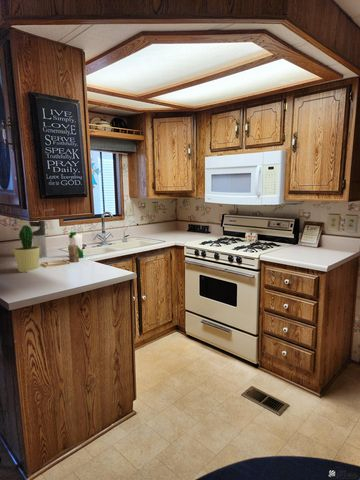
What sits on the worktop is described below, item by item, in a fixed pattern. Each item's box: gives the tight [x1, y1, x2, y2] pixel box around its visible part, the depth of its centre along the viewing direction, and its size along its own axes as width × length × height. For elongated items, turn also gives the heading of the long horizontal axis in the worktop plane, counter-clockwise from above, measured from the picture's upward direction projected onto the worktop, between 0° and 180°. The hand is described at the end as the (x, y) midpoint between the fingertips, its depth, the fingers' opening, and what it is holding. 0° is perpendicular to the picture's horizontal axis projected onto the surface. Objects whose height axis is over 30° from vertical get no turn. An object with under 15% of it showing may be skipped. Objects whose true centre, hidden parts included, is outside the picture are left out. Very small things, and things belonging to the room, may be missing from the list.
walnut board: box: [68, 244, 80, 263], centre depth 226 cm, size 3×10×12 cm, turn 40°
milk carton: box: [68, 231, 84, 259], centre depth 243 cm, size 9×9×20 cm
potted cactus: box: [13, 224, 40, 273], centre depth 203 cm, size 15×15×30 cm
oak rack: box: [40, 259, 71, 268], centre depth 217 cm, size 11×16×2 cm
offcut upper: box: [45, 259, 65, 265], centre depth 219 cm, size 3×11×2 cm, turn 135°
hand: (56, 212), depth 226 cm, fingers open, 8 cm apart
